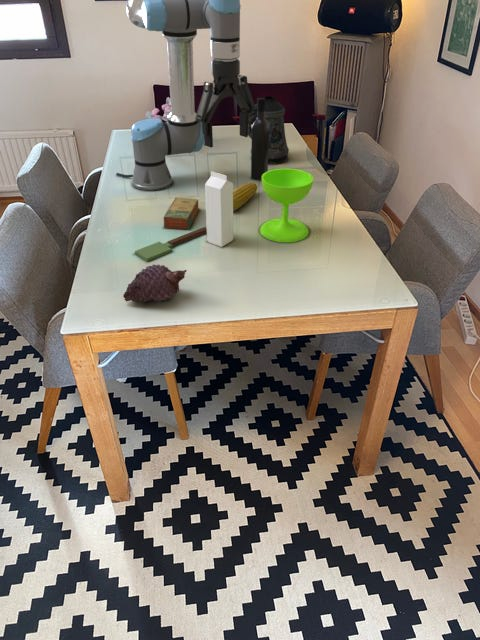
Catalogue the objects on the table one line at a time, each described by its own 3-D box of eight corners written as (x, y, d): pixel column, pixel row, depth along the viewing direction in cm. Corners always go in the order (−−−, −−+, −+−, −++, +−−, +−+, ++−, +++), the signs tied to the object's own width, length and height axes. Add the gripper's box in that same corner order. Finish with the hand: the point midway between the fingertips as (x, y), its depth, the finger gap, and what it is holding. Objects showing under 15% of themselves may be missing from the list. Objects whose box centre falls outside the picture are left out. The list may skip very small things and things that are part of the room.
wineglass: (275, 246, 160) (278, 191, 149) (251, 226, 171) (252, 173, 160) (318, 235, 166) (323, 181, 155) (292, 216, 177) (295, 165, 166)
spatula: (147, 261, 152) (146, 257, 151) (135, 253, 156) (134, 249, 155) (212, 234, 166) (212, 230, 165) (200, 228, 170) (200, 224, 169)
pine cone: (130, 316, 130) (113, 280, 128) (132, 312, 139) (117, 278, 138) (195, 289, 131) (179, 253, 129) (192, 287, 141) (178, 253, 139)
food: (236, 215, 178) (236, 198, 174) (221, 212, 180) (221, 196, 176) (260, 193, 193) (260, 177, 190) (246, 190, 195) (246, 175, 192)
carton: (199, 209, 181) (198, 198, 179) (188, 230, 169) (187, 218, 166) (176, 208, 182) (175, 196, 180) (163, 228, 170) (162, 216, 167)
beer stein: (294, 156, 227) (298, 96, 212) (273, 169, 213) (275, 106, 199) (262, 149, 234) (264, 90, 219) (239, 162, 221) (239, 100, 206)
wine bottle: (250, 179, 205) (251, 99, 187) (255, 174, 209) (256, 95, 191) (263, 181, 203) (265, 100, 185) (268, 176, 207) (271, 97, 190)
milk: (218, 235, 166) (217, 167, 153) (233, 240, 163) (233, 172, 150) (206, 242, 162) (204, 173, 149) (221, 247, 159) (220, 178, 146)
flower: (157, 132, 249) (140, 87, 228) (202, 129, 246) (190, 83, 224) (150, 162, 240) (132, 119, 218) (197, 160, 236) (183, 116, 214)
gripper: (198, 67, 125) (201, 154, 138) (268, 55, 139) (266, 134, 152) (179, 63, 130) (184, 147, 142) (249, 51, 144) (248, 129, 156)
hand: (226, 141), depth 147 cm, fingers open, 13 cm apart
